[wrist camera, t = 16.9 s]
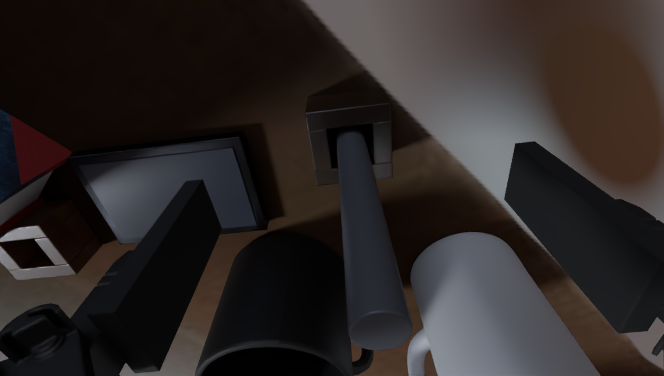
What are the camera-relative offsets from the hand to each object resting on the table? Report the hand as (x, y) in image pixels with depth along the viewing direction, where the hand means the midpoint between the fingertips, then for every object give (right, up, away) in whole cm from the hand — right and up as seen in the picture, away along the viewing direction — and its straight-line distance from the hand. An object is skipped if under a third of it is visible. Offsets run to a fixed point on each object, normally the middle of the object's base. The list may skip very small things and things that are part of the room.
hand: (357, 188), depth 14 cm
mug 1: (-3, -8, +13) cm, 16 cm away
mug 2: (+9, -8, +14) cm, 18 cm away
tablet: (-12, 0, +8) cm, 14 cm away
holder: (0, +4, +6) cm, 7 cm away
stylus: (0, +4, +6) cm, 7 cm away
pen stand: (-21, -3, +10) cm, 24 cm away
